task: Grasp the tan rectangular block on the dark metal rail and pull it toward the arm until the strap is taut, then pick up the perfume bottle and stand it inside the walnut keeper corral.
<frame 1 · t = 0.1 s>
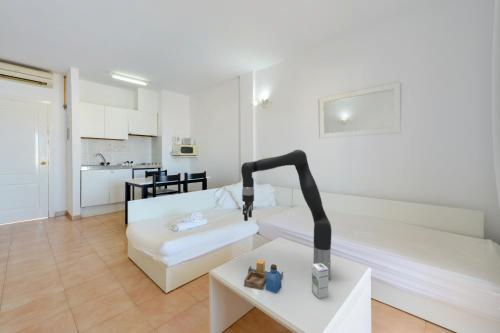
hand: (248, 219, 133), 29 cm above the table, fingers open, 8 cm apart
rail: (265, 274, 121), on the table
syrup box: (319, 294, 104), on the table
perfume bottle: (273, 288, 109), on the table
tan rectangular block: (257, 266, 122), point 4 cm above the table, slide at 0.0 cm
keeper: (256, 282, 114), on the table
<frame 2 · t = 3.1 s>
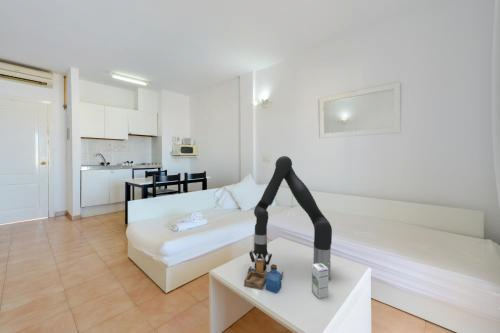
hand: (260, 269, 122), 2 cm above the table, fingers closed on tan rectangular block, 4 cm apart
tan rectangular block: (257, 266, 122), point 4 cm above the table, slide at 0.0 cm, touching gripper
everything else where it was.
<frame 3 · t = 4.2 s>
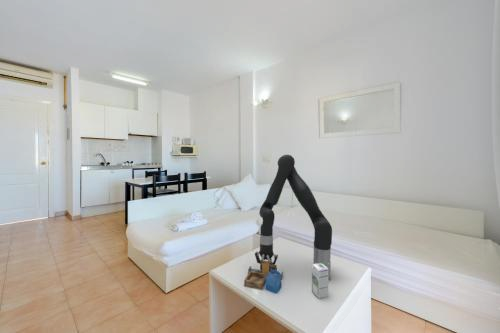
hand: (266, 270, 121), 2 cm above the table, fingers closed on tan rectangular block, 4 cm apart
tan rectangular block: (263, 267, 121), point 4 cm above the table, slide at 3.5 cm, touching gripper
everything else where it was.
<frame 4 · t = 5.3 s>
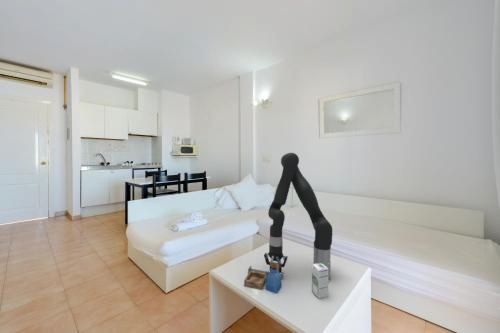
hand: (275, 272, 119), 2 cm above the table, fingers closed on tan rectangular block, 4 cm apart
tan rectangular block: (272, 268, 120), point 4 cm above the table, slide at 9.0 cm, touching gripper
everything else where it was.
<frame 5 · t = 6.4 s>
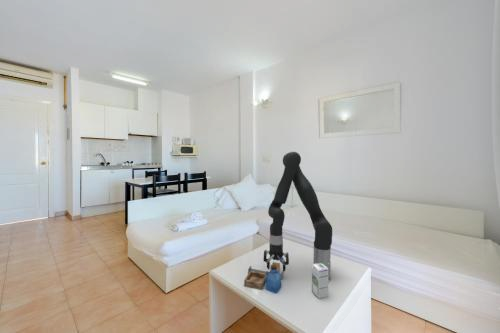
hand: (276, 269, 119), 4 cm above the table, fingers open, 8 cm apart
tan rectangular block: (272, 268, 120), point 4 cm above the table, slide at 9.0 cm
everything else where it was.
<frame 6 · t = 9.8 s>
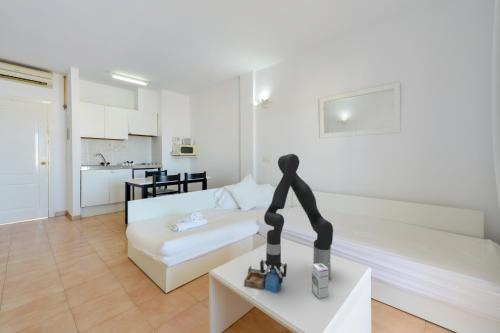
hand: (273, 281, 108), 3 cm above the table, fingers closed on perfume bottle, 7 cm apart
perfume bottle: (273, 288, 109), on the table, touching gripper
everything else where it was.
when the fingers open (5 cm above the table, at t = 15.4 s): perfume bottle drops 1 cm, resting on keeper.
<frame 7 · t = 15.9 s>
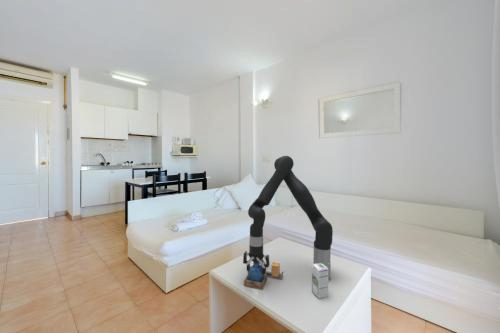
hand: (256, 272, 113), 6 cm above the table, fingers open, 8 cm apart
perfume bottle: (256, 281, 114), resting on keeper
everything else where it was.
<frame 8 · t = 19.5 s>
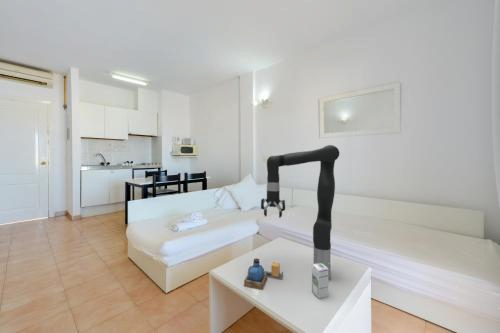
hand: (272, 216, 124), 33 cm above the table, fingers open, 8 cm apart
nothing on the table moved.
at the end: tan rectangular block slide at 9.0 cm; perfume bottle inside the target area on the keeper (0.3 cm from its centre), point 0.4 cm above the keeper's base; perfume bottle tilted 0° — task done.
